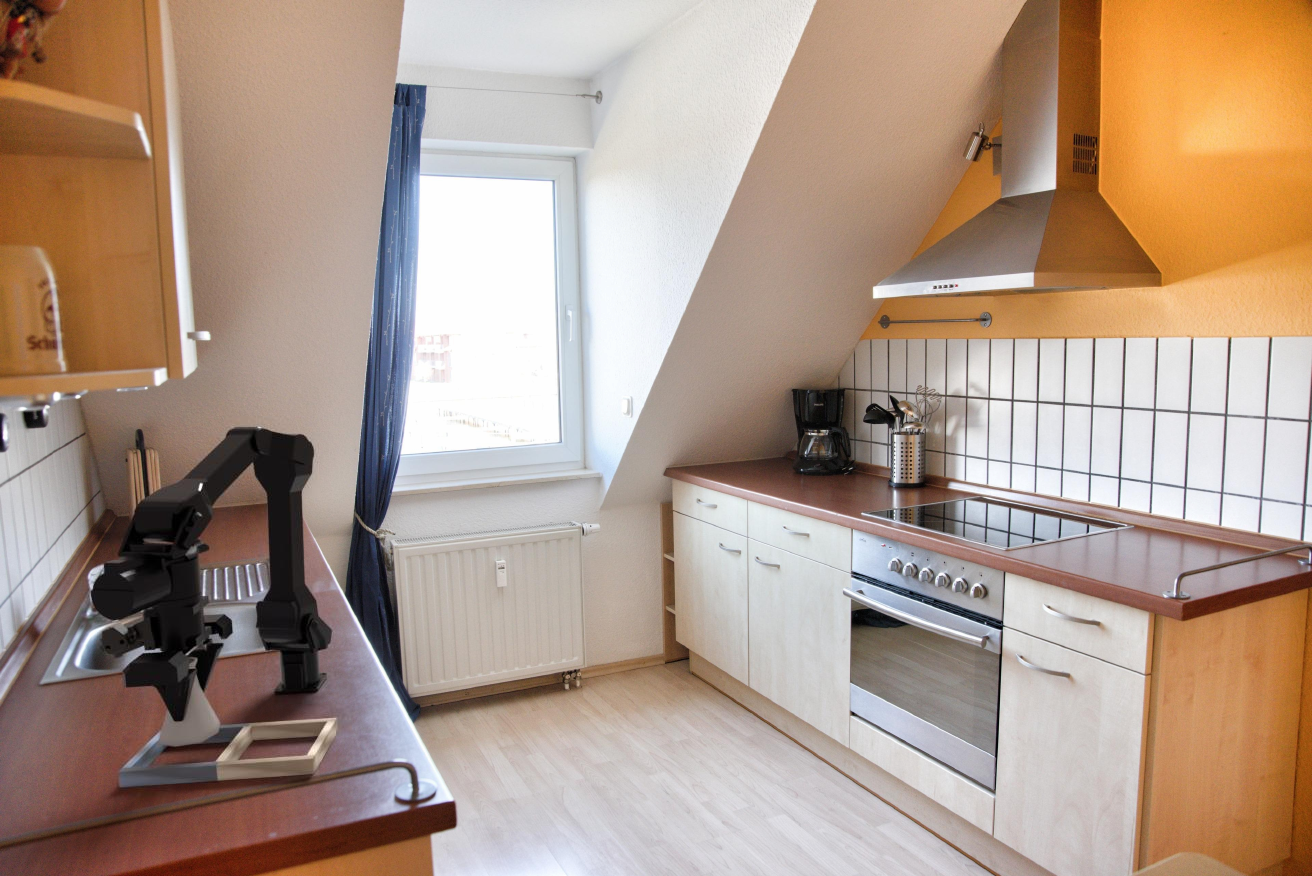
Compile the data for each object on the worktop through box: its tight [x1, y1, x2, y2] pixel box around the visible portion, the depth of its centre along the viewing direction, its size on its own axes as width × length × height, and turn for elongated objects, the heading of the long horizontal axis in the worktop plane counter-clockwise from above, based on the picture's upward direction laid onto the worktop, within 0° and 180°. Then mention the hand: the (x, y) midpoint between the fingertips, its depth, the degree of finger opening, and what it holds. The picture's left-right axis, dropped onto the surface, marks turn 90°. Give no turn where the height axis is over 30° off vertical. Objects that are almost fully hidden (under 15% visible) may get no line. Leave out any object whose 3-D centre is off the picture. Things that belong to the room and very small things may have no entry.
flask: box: [158, 657, 222, 747], centre depth 115 cm, size 7×7×10 cm
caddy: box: [117, 717, 339, 788], centre depth 116 cm, size 12×23×2 cm, turn 96°
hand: (187, 712), depth 115 cm, fingers closed on flask, 5 cm apart
